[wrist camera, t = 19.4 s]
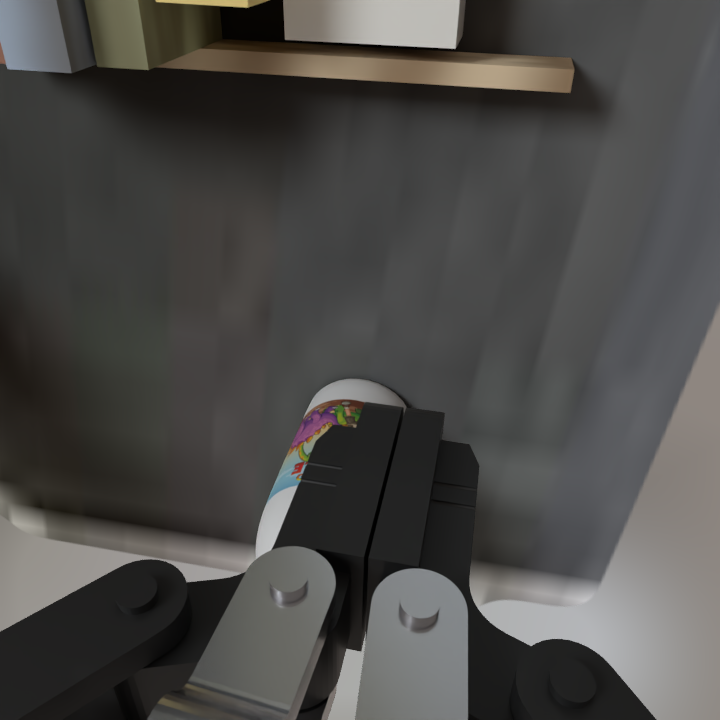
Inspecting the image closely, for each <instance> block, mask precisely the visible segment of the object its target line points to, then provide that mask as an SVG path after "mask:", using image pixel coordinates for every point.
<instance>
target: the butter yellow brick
mask: <svg viewBox="0 0 720 720" xmlns="http://www.w3.org/2000/svg"><path fill="white" fill-rule="evenodd" d="M266 1H269V0H156V2H164V3H180V4H197V5H213V6H229V7H245V8H249V7H252V6H254V5H257V4H260V3H263V2H266Z"/></svg>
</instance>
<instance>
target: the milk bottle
mask: <svg viewBox="0 0 720 720" xmlns="http://www.w3.org/2000/svg"><path fill="white" fill-rule="evenodd" d="M365 402H371V403H378V404H385V405H392V406H399V407H403V408H404V413H405V409H406V408H407V407H406V405H405V404H404V402H403V401H402V400H401V399H400V398H399V397H398V395H397V394H396V393H394V392H393V391H391V390H390V389H389V388H387V387H385V386H383V385H381V384H379V383H377V382H373V381H370V380H366V379H359V378H348V379H343V380H338V381H336V382H333V383H330V384H329V385H327V386H325V387H324V388H322V389H321V390H320V391H319V392H318V393H317V394H316V395H315V396H314V398H313V399H312V401H311V403H310V405H309V407H308V409H307V411H306V413H305V416H304V418H303V420H302V422H301V425H300V427H299V429H298V431H297V434H296V436H295V438H294V440H293V443H292V445H291V447H290V449H289V452H288V454H287V456H286V458H285V461H284V463H283V465H282V468H281V470H280V472H279V475H278V477H277V479H276V482H275V484H274V486H273V489H272V491H271V493H270V496H269V498H268V501H267V504H266V506H265V509H264V512H263V514H262V517H261V521H260V525H259V528H258V533H257V540H256V559H257V558H259V557H260V556H261V555H263V554H265V553H266V552H268V551H271V549H272V547H273V545H274V543H275V541H276V539H277V536H278V534H279V531H280V529H281V526H282V524H283V521H284V519H285V516H286V514H287V511H288V509H289V506H290V504H291V501H292V499H293V496H294V494H295V491H296V489H297V486H298V484H299V482H300V481H301V476H302V474H303V471H304V469H305V466H306V465H307V463H308V459H309V457H310V454H311V452H312V449H313V447H314V444H315V442H316V440H317V439H318V438H319V437H321V436H322V435H323V434H324V433H325V432H326V431H327V430H328V429H329V428H330V427H332V426H333V425H341V426H348V427H354V428H356V426H357V423H358V420H359V417H360V414H361V411H362V408H363V405H364V403H365Z"/></svg>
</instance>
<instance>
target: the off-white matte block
mask: <svg viewBox="0 0 720 720" xmlns="http://www.w3.org/2000/svg"><path fill="white" fill-rule="evenodd" d="M465 4H466V0H283V7H284V31H285V40H298V41H317V42H336V43H355V44H374V45H392V46H411V47H430V48H449V49H456V47H457V45H458V44H459V42H460V40H461V38H462V36H463V26H464V15H465Z"/></svg>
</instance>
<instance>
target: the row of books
mask: <svg viewBox="0 0 720 720" xmlns="http://www.w3.org/2000/svg"><path fill="white" fill-rule="evenodd" d="M0 63H4V64H6V65H7V69H14V70H30V71H45V72H60V73H74V72H77V71H80V70H82V69H85V68H88V67H91V66H94V65H97V67H108V68H124V69H140V70H150V69H152V68H155V67H159V68H175V69H191V70H207V71H223V72H239V73H255V74H272V75H288V76H304V77H320V78H336V79H352V80H368V81H384V82H401V83H417V84H433V85H449V86H465V87H481V88H497V89H513V90H529V91H546V92H562V93H570V92H571V86H572V81H573V76H574V70H575V69H574V66H573V63H572V59H571V58H564V57H546V56H527V55H509V54H490V53H471V52H453V51H434V50H416V49H397V48H378V47H360V46H341V45H322V44H304V43H285V42H267V41H248V40H229V39H223V37H222V26H221V15H220V6H213V5H197V4H180V3H164V2H156V0H0Z"/></svg>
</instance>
